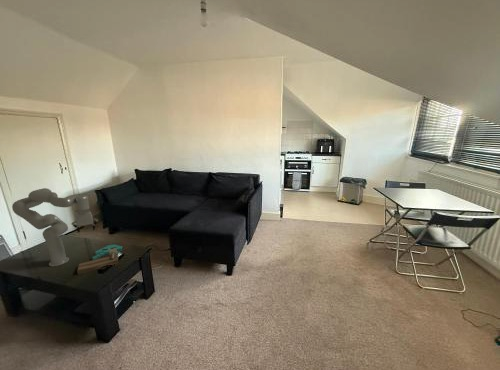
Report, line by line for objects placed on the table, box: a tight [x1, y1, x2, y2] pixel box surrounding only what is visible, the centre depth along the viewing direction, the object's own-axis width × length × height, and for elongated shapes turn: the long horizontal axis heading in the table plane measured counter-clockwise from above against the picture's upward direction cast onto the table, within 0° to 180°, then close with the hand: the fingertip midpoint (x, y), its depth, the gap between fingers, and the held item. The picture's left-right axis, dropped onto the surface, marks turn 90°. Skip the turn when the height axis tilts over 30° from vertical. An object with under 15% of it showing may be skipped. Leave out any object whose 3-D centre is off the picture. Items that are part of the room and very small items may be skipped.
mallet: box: [108, 248, 117, 259], centre depth 178 cm, size 14×5×7 cm, turn 32°
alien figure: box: [92, 244, 123, 260], centre depth 192 cm, size 20×2×20 cm
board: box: [76, 254, 119, 275], centre depth 170 cm, size 12×26×3 cm, turn 122°
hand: (86, 230), depth 172 cm, fingers open, 9 cm apart
